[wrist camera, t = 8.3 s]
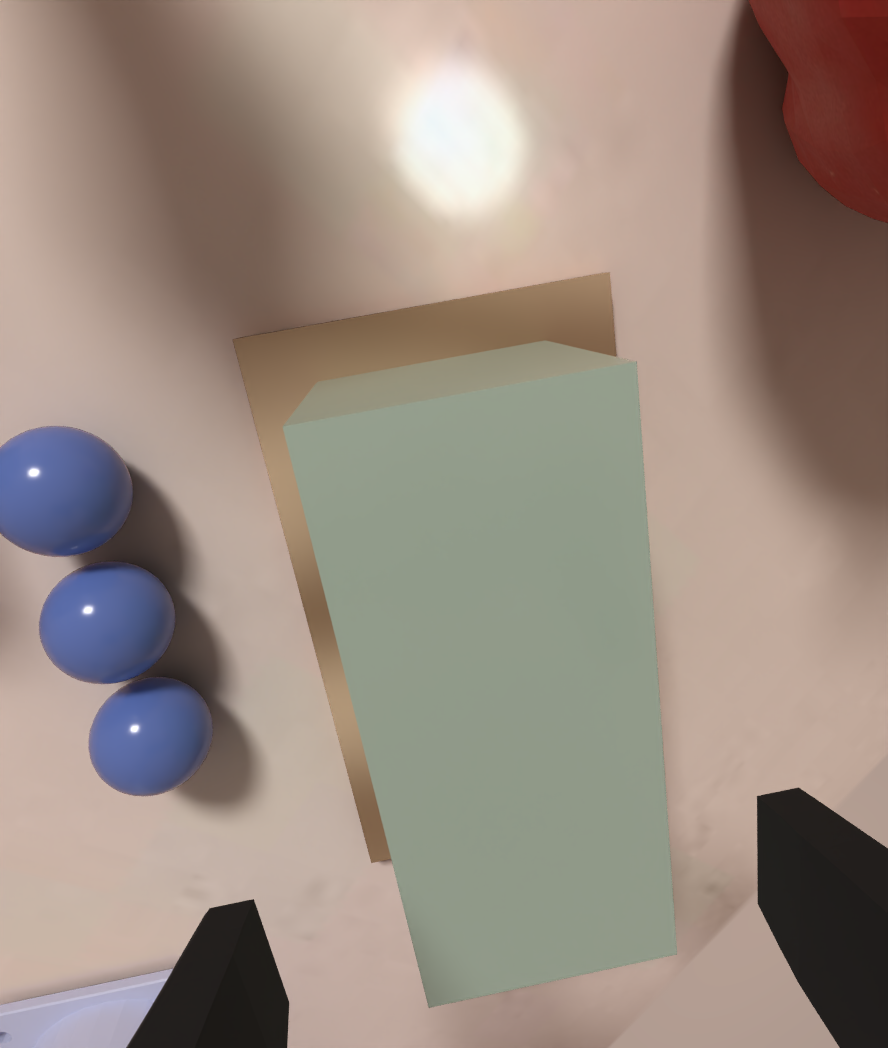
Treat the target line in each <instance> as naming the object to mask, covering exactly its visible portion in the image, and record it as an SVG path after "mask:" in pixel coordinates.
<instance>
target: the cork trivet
mask: <svg viewBox="0 0 888 1048" xmlns="http://www.w3.org/2000/svg"><path fill="white" fill-rule="evenodd" d="M545 340H546V341H550V342H554V343H559V344H563V345H567V346H572V347H576V348H580V349H585V350H589V351H593V352H597V353H602V354H606V355H610V356H615V357H616V347H615V334H614V322H613V309H612V296H611V283H610V272H608V273H601V274H595V275H590V276H584V277H578V278H573V279H567V280H562V281H556V282H550V283H545V284H539V285H534V286H528V287H522V288H517V289H511V290H506V291H500V292H494V293H489V294H483V295H478V296H472V297H466V298H461V299H455V300H450V301H444V302H438V303H433V304H427V305H422V306H416V307H410V308H405V309H399V310H394V311H388V312H382V313H377V314H371V315H366V316H360V317H354V318H349V319H343V320H337V321H332V322H326V323H321V324H315V325H309V326H304V327H298V328H293V329H287V330H281V331H276V332H270V333H265V334H259V335H253V336H248V337H242V338H237V339H233V343H234V347H235V351H236V354H237V358H238V362H239V366H240V369H241V373H242V377H243V381H244V384H245V388H246V392H247V396H248V400H249V403H250V407H251V411H252V415H253V418H254V422H255V426H256V430H257V433H258V437H259V441H260V445H261V449H262V452H263V456H264V460H265V464H266V467H267V471H268V475H269V479H270V482H271V486H272V490H273V494H274V497H275V501H276V505H277V509H278V513H279V516H280V520H281V524H282V528H283V531H284V535H285V539H286V543H287V546H288V550H289V554H290V558H291V562H292V565H293V569H294V573H295V577H296V580H297V584H298V588H299V592H300V595H301V599H302V603H303V607H304V611H305V614H306V618H307V622H308V626H309V629H310V633H311V637H312V641H313V644H314V648H315V652H316V656H317V660H318V663H319V667H320V671H321V675H322V678H323V682H324V686H325V690H326V693H327V697H328V701H329V705H330V708H331V712H332V716H333V720H334V724H335V727H336V731H337V735H338V739H339V742H340V746H341V750H342V754H343V757H344V761H345V765H346V769H347V773H348V776H349V780H350V784H351V788H352V791H353V795H354V799H355V803H356V806H357V810H358V814H359V818H360V822H361V825H362V829H363V833H364V837H365V840H366V844H367V848H368V852H369V855H370V859H371V863H374V862H378V861H383V860H388V859H391V856H390V852H389V848H388V844H387V840H386V836H385V832H384V828H383V824H382V820H381V816H380V812H379V808H378V804H377V800H376V796H375V792H374V788H373V784H372V780H371V776H370V772H369V768H368V764H367V760H366V756H365V752H364V748H363V744H362V740H361V736H360V732H359V728H358V725H357V721H356V717H355V713H354V709H353V705H352V701H351V697H350V693H349V689H348V685H347V681H346V677H345V673H344V669H343V665H342V661H341V657H340V653H339V649H338V645H337V641H336V637H335V633H334V629H333V625H332V621H331V617H330V613H329V609H328V605H327V601H326V597H325V593H324V589H323V586H322V582H321V578H320V574H319V570H318V566H317V562H316V558H315V554H314V550H313V546H312V542H311V538H310V534H309V530H308V526H307V522H306V518H305V514H304V510H303V506H302V502H301V498H300V494H299V490H298V486H297V482H296V478H295V474H294V470H293V466H292V462H291V458H290V454H289V450H288V447H287V443H286V439H285V435H284V431H283V425H284V424H285V423H286V421H287V420H288V419H289V418H290V416H291V415H292V414H293V412H294V411H295V410H296V408H297V407H298V406H299V405H300V403H301V402H302V401H303V399H304V398H305V397H306V395H307V394H308V393H309V392H310V390H311V389H312V388H313V386H314V385H315V384H316V383H317V382H319V381H324V380H330V379H335V378H341V377H346V376H352V375H357V374H363V373H368V372H374V371H379V370H385V369H390V368H396V367H401V366H407V365H412V364H418V363H423V362H429V361H434V360H440V359H445V358H451V357H456V356H462V355H467V354H473V353H478V352H484V351H490V350H495V349H501V348H506V347H512V346H517V345H523V344H528V343H534V342H539V341H545Z"/></svg>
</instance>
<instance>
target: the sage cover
mask: <svg viewBox="0 0 888 1048" xmlns="http://www.w3.org/2000/svg"><path fill="white" fill-rule="evenodd" d="M283 431H284V435H285V439H286V443H287V447H288V450H289V454H290V458H291V462H292V466H293V470H294V474H295V478H296V482H297V486H298V490H299V494H300V498H301V502H302V506H303V510H304V514H305V518H306V522H307V526H308V530H309V534H310V538H311V542H312V546H313V550H314V554H315V558H316V562H317V566H318V570H319V574H320V578H321V582H322V586H323V589H324V593H325V597H326V601H327V605H328V609H329V613H330V617H331V621H332V625H333V629H334V633H335V637H336V641H337V645H338V649H339V653H340V657H341V661H342V665H343V669H344V673H345V677H346V681H347V685H348V689H349V693H350V697H351V701H352V705H353V709H354V713H355V717H356V721H357V725H358V728H359V732H360V736H361V740H362V744H363V748H364V752H365V756H366V760H367V764H368V768H369V772H370V776H371V780H372V784H373V788H374V792H375V796H376V800H377V804H378V808H379V812H380V816H381V820H382V824H383V828H384V832H385V836H386V840H387V844H388V848H389V852H390V856H391V860H392V864H393V868H394V871H395V875H396V879H397V883H398V887H399V891H400V895H401V899H402V903H403V907H404V911H405V915H406V919H407V923H408V927H409V931H410V935H411V939H412V943H413V947H414V951H415V955H416V959H417V963H418V967H419V971H420V975H421V979H422V983H423V987H424V991H425V995H426V999H427V1003H428V1007H429V1008H430V1007H435V1006H440V1005H444V1004H449V1003H454V1002H458V1001H463V1000H467V999H472V998H477V997H481V996H486V995H491V994H495V993H500V992H505V991H509V990H514V989H518V988H523V987H528V986H532V985H537V984H542V983H546V982H551V981H556V980H560V979H565V978H570V977H574V976H579V975H583V974H588V973H593V972H597V971H602V970H607V969H611V968H616V967H621V966H625V965H630V964H634V963H639V962H644V961H648V960H653V959H658V958H662V957H667V956H672V955H676V954H677V946H676V932H675V917H674V902H673V888H672V873H671V858H670V844H669V829H668V814H667V800H666V785H665V771H664V756H663V741H662V727H661V712H660V697H659V683H658V668H657V653H656V639H655V624H654V609H653V595H652V580H651V566H650V551H649V536H648V522H647V507H646V492H645V478H644V463H643V448H642V434H641V419H640V405H639V390H638V375H637V362H636V361H632V360H628V359H623V358H619V357H615V356H610V355H606V354H602V353H597V352H593V351H589V350H585V349H580V348H576V347H572V346H567V345H563V344H559V343H554V342H550V341H546V340H545V341H539V342H534V343H528V344H523V345H517V346H512V347H506V348H501V349H495V350H490V351H484V352H478V353H473V354H467V355H462V356H456V357H451V358H445V359H440V360H434V361H429V362H423V363H418V364H412V365H407V366H401V367H396V368H390V369H385V370H379V371H374V372H368V373H363V374H357V375H352V376H346V377H341V378H335V379H330V380H324V381H319V382H317V383H316V384H315V385H314V386H313V388H312V389H311V390H310V392H309V393H308V394H307V395H306V397H305V398H304V399H303V401H302V402H301V403H300V405H299V406H298V407H297V408H296V410H295V411H294V412H293V414H292V415H291V416H290V418H289V419H288V420H287V421H286V423H285V424H284V425H283Z"/></svg>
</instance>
